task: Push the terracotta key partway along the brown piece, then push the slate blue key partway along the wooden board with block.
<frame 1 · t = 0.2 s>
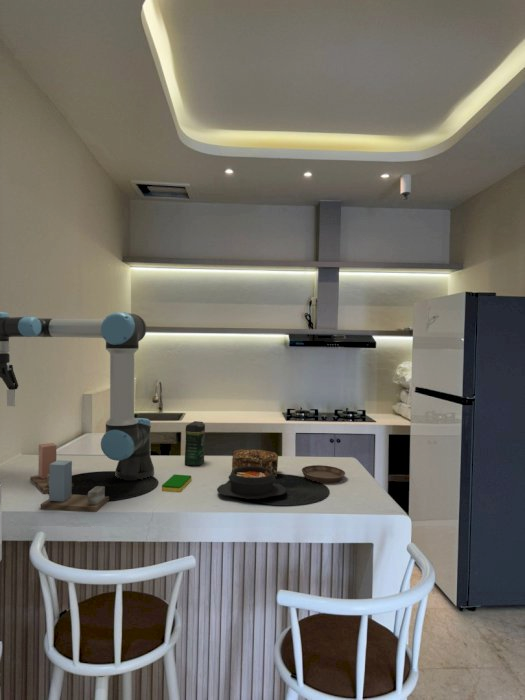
plant saucer: (323, 478, 187), on the table
wooden board with block: (60, 503, 152), on the table
brown piece: (47, 480, 175), on the table
terracotta key: (47, 460, 175), point 8 cm above the table, slide at 0.0 cm
slate blue key: (60, 480, 152), point 8 cm above the table, slide at 0.0 cm
coffee jar: (194, 464, 203), on the table
casserole: (251, 495, 165), on the table
bread: (255, 474, 190), on the table
dish sponge: (177, 487, 173), on the table
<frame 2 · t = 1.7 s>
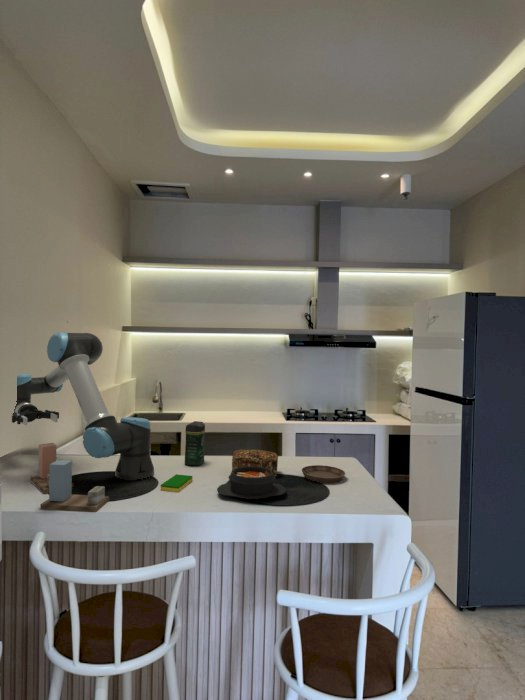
hand: (41, 420, 180), 22 cm above the table, tool horizontal, fingers open, 10 cm apart
nothing on the table moved.
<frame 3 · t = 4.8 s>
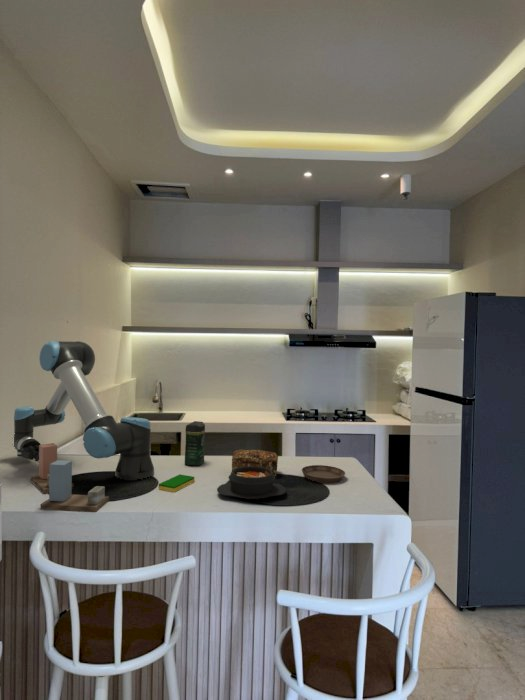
hand: (45, 459, 176), 8 cm above the table, tool horizontal, fingers closed
terracotta key: (48, 460, 174), point 8 cm above the table, slide at 0.7 cm, touching gripper
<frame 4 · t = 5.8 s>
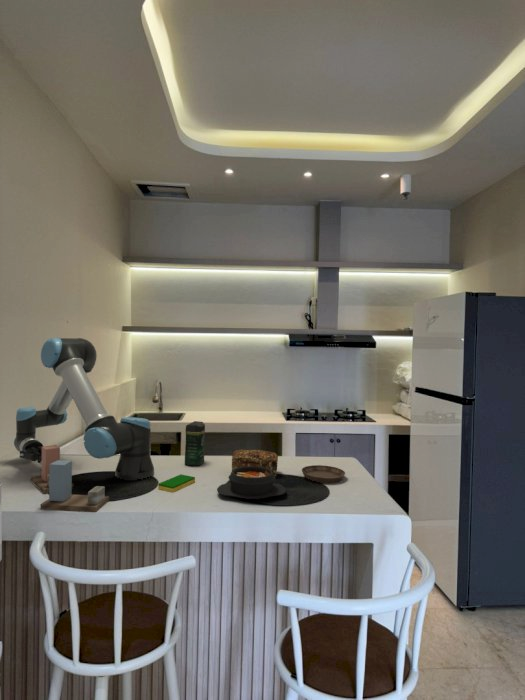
hand: (48, 460, 174), 8 cm above the table, tool horizontal, fingers closed
terracotta key: (50, 462, 172), point 8 cm above the table, slide at 4.1 cm, touching gripper
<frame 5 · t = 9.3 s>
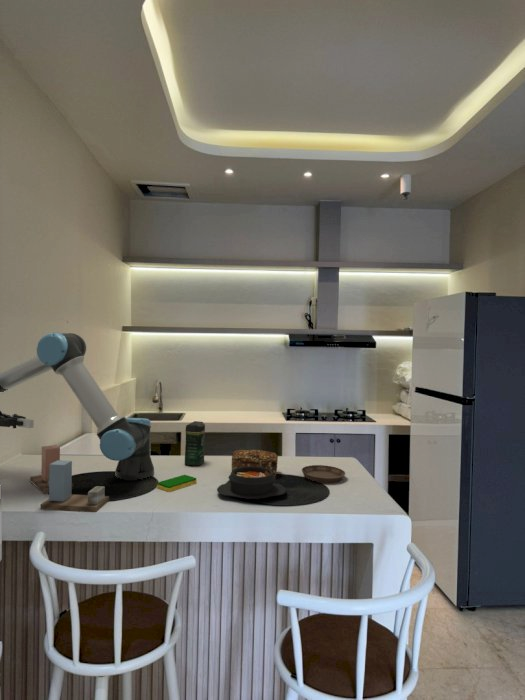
hand: (31, 424, 163), 24 cm above the table, tool horizontal, fingers closed
terracotta key: (50, 462, 172), point 8 cm above the table, slide at 4.1 cm
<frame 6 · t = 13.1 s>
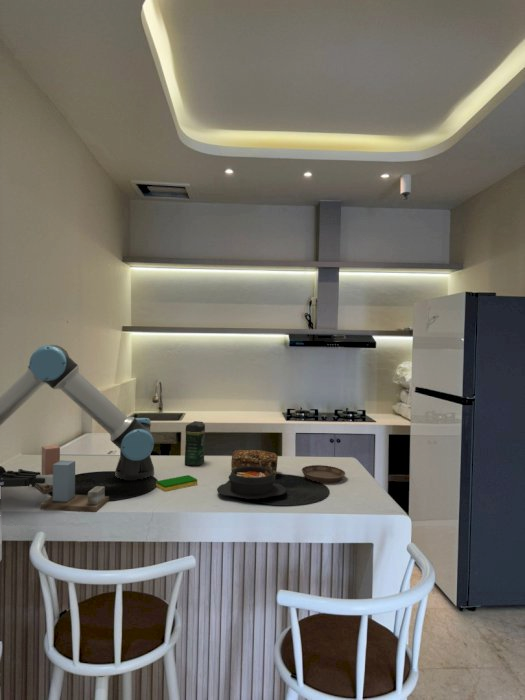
hand: (55, 480, 151), 8 cm above the table, tool horizontal, fingers closed
slate blue key: (64, 480, 151), point 8 cm above the table, slide at 1.2 cm, touching gripper
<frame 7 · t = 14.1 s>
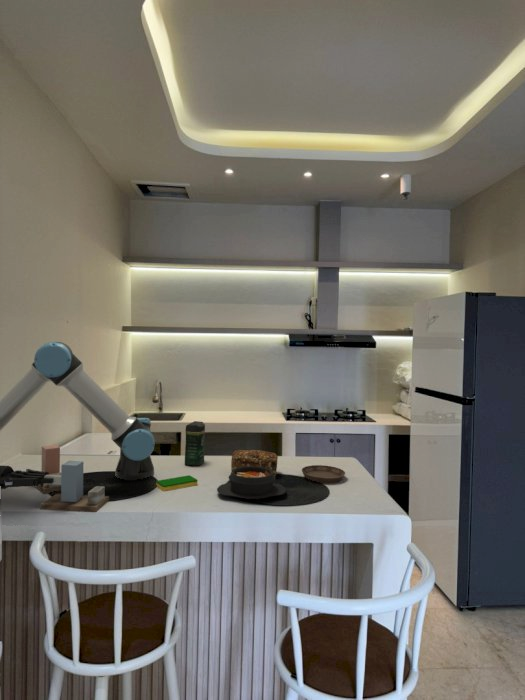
hand: (64, 480, 151), 8 cm above the table, tool horizontal, fingers closed
slate blue key: (72, 481, 151), point 8 cm above the table, slide at 4.0 cm, touching gripper
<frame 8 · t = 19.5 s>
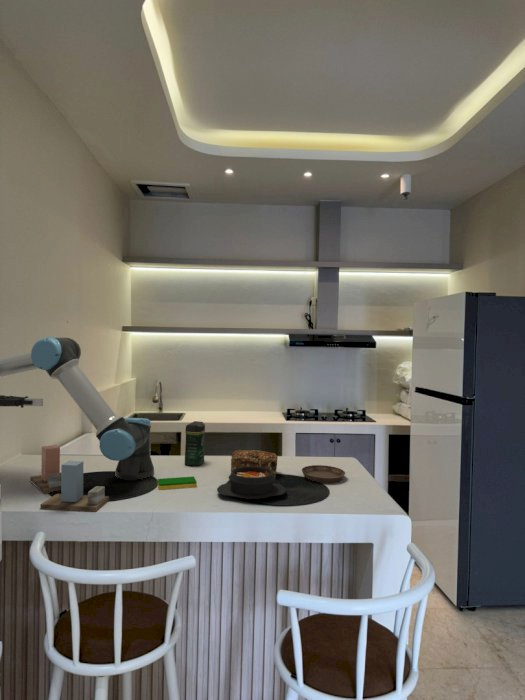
hand: (41, 402, 174), 30 cm above the table, tool horizontal, fingers closed
slate blue key: (72, 481, 151), point 8 cm above the table, slide at 4.0 cm
at the end: terracotta key slide at 4.1 cm; slate blue key slide at 4.0 cm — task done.
